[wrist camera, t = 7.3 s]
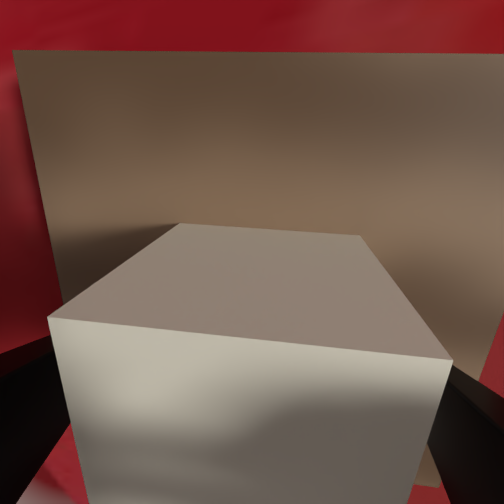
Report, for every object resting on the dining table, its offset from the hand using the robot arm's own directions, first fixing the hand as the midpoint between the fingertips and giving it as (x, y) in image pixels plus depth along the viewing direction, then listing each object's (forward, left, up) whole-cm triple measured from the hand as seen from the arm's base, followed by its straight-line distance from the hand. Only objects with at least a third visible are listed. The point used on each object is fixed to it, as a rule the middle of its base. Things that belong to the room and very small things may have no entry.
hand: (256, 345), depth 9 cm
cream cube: (0, 0, -2) cm, 2 cm away
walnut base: (0, 0, -5) cm, 5 cm away
